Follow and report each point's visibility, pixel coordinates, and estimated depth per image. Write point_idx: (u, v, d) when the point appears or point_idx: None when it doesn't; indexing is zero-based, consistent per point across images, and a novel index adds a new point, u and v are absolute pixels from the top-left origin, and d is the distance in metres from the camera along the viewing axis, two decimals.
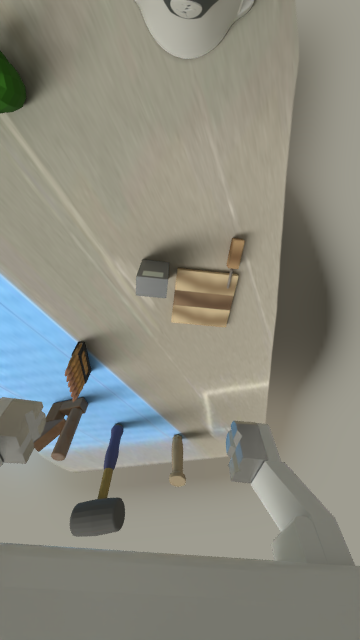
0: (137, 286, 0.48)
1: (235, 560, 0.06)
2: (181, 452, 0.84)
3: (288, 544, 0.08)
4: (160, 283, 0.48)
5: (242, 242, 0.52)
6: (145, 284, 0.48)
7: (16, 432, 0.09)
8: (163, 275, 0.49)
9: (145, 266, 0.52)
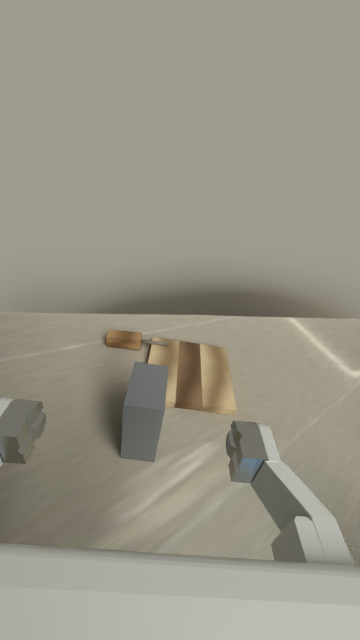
0: (145, 405, 0.24)
1: (235, 560, 0.06)
2: None
3: (288, 544, 0.08)
4: (141, 371, 0.28)
5: (110, 331, 0.45)
6: (141, 392, 0.26)
7: (16, 432, 0.09)
8: None
9: None
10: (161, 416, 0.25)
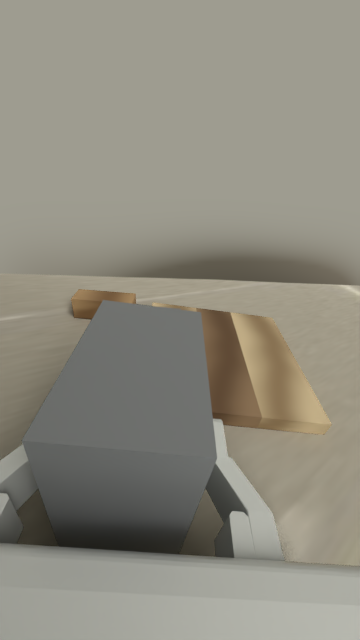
0: (128, 438, 0.05)
1: (235, 560, 0.06)
2: None
3: (224, 540, 0.08)
4: (119, 321, 0.09)
5: (80, 291, 0.26)
6: (117, 382, 0.07)
7: None
8: None
9: None
10: (200, 481, 0.06)
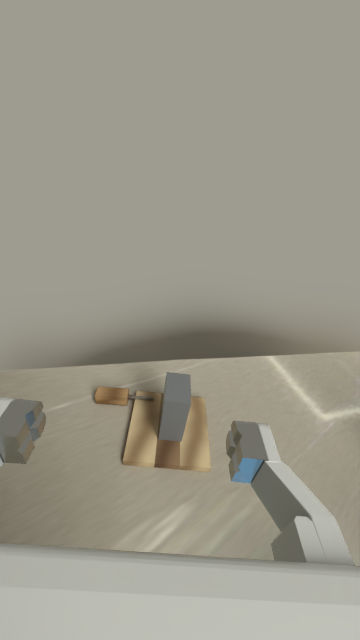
0: (178, 401, 0.38)
1: (235, 560, 0.06)
2: None
3: (288, 544, 0.08)
4: (172, 378, 0.41)
5: (99, 388, 0.49)
6: (174, 392, 0.39)
7: (16, 432, 0.09)
8: (165, 382, 0.42)
9: (161, 418, 0.41)
10: (188, 408, 0.38)
